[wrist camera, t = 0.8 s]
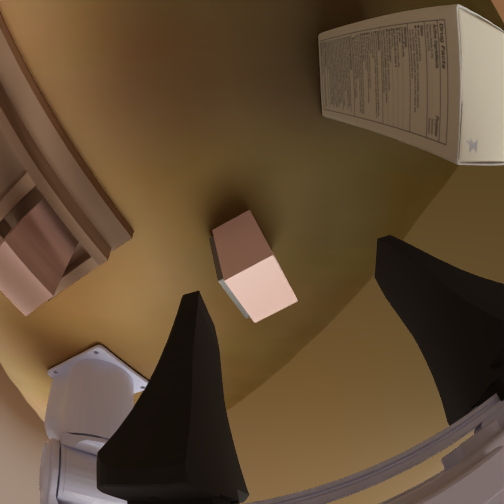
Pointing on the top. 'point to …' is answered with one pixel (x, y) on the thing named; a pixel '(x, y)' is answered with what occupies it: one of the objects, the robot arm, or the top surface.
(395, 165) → the top surface
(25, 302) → the walnut rack
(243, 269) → the rose block
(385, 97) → the skincare box
